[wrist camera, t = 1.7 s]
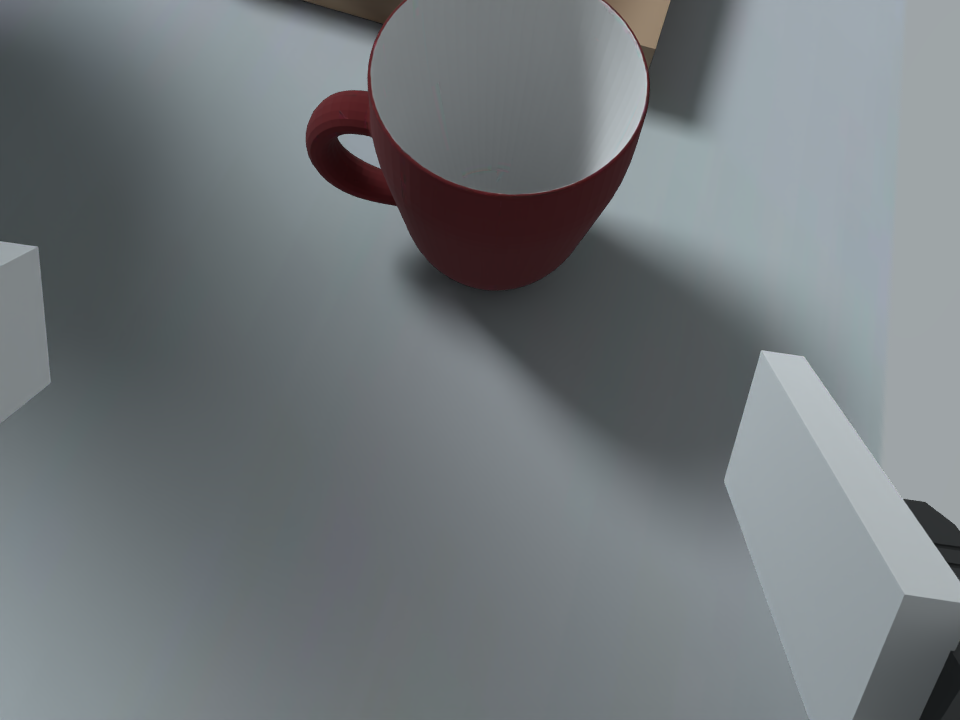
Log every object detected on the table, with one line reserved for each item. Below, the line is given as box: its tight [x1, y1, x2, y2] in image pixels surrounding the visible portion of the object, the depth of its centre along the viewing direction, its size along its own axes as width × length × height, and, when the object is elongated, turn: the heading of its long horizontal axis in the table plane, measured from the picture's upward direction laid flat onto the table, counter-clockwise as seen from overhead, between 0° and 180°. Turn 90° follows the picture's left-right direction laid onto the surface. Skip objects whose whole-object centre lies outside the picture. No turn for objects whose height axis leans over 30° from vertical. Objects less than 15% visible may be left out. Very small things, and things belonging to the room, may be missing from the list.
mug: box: [306, 0, 650, 291], centre depth 29 cm, size 10×8×10 cm
